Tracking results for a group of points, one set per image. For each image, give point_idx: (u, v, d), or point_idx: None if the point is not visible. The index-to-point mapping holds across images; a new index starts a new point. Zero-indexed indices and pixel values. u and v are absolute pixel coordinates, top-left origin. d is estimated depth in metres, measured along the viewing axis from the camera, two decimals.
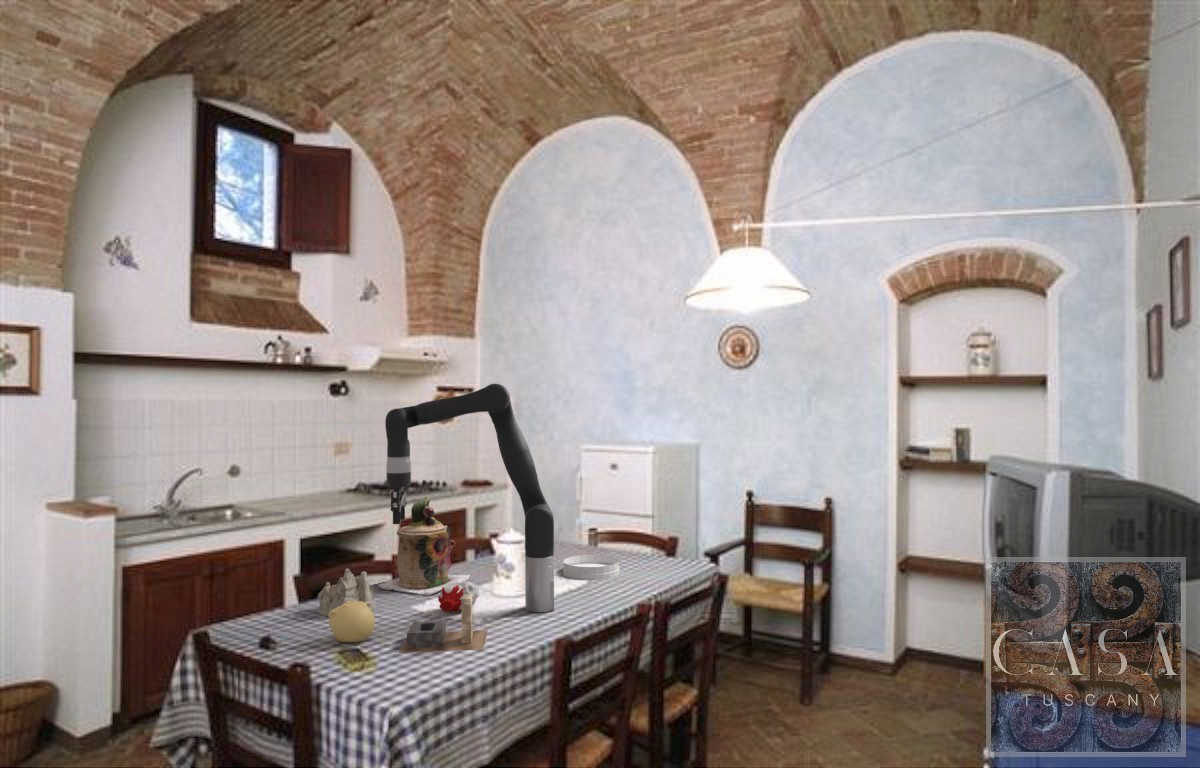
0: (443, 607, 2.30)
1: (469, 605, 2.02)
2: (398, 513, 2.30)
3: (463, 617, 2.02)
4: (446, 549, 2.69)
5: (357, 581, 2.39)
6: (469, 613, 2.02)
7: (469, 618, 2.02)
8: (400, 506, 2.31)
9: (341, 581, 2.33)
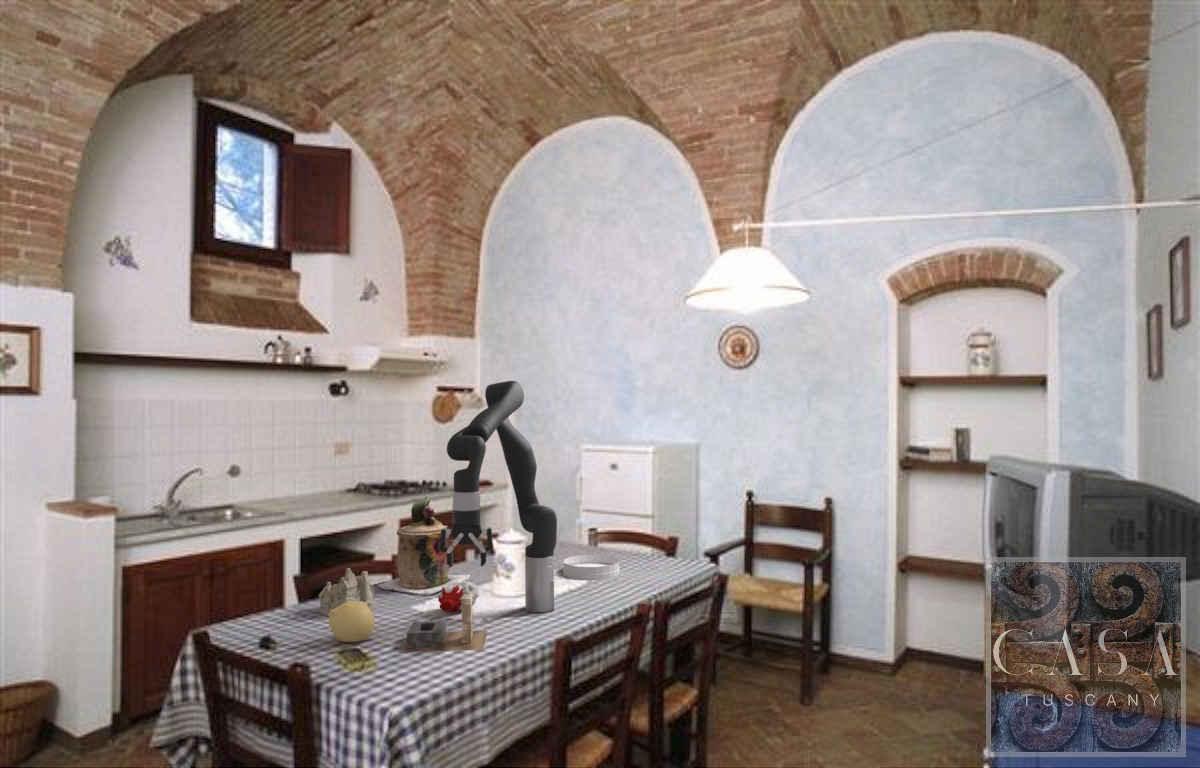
0: (443, 607, 2.30)
1: (469, 605, 2.02)
2: None
3: (463, 617, 2.02)
4: None
5: (358, 581, 2.40)
6: (469, 613, 2.02)
7: (469, 618, 2.02)
8: (482, 545, 2.06)
9: (342, 580, 2.33)
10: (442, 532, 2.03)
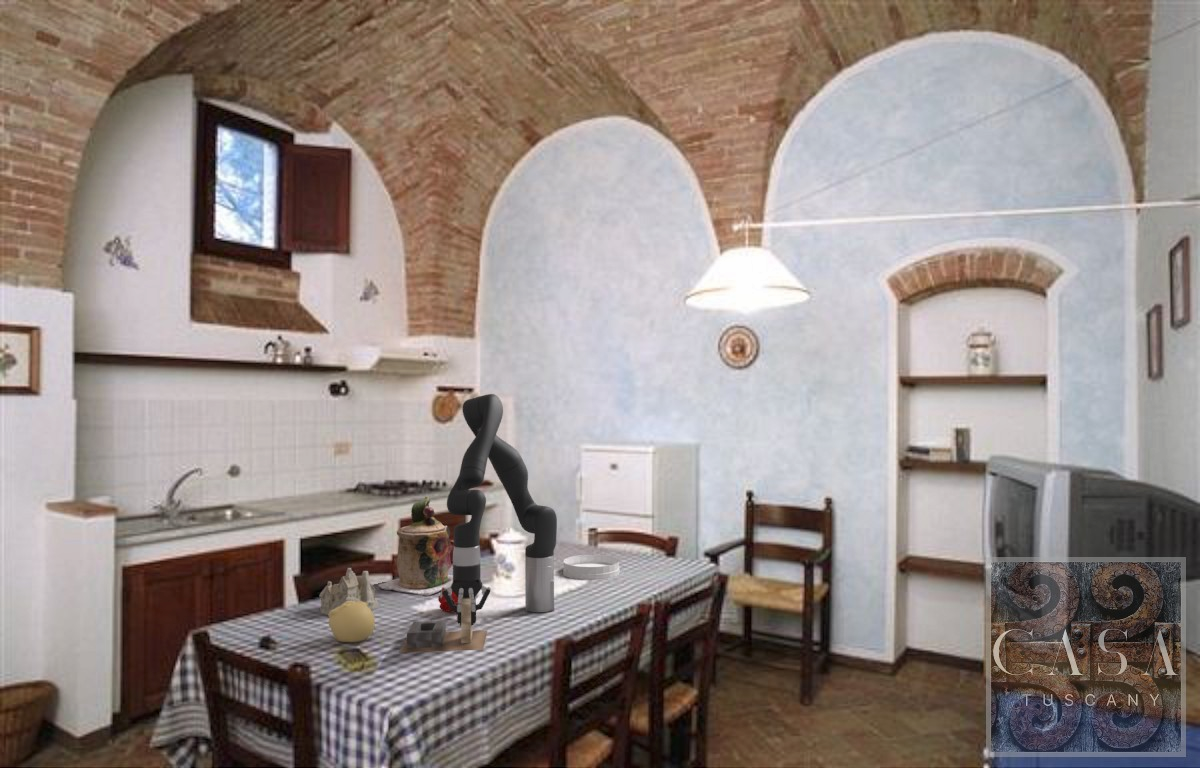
0: (443, 607, 2.30)
1: (469, 605, 2.02)
2: None
3: (463, 617, 2.02)
4: (446, 549, 2.69)
5: (359, 580, 2.40)
6: (469, 613, 2.02)
7: (469, 618, 2.02)
8: (474, 603, 2.05)
9: (343, 580, 2.34)
10: (444, 593, 2.02)
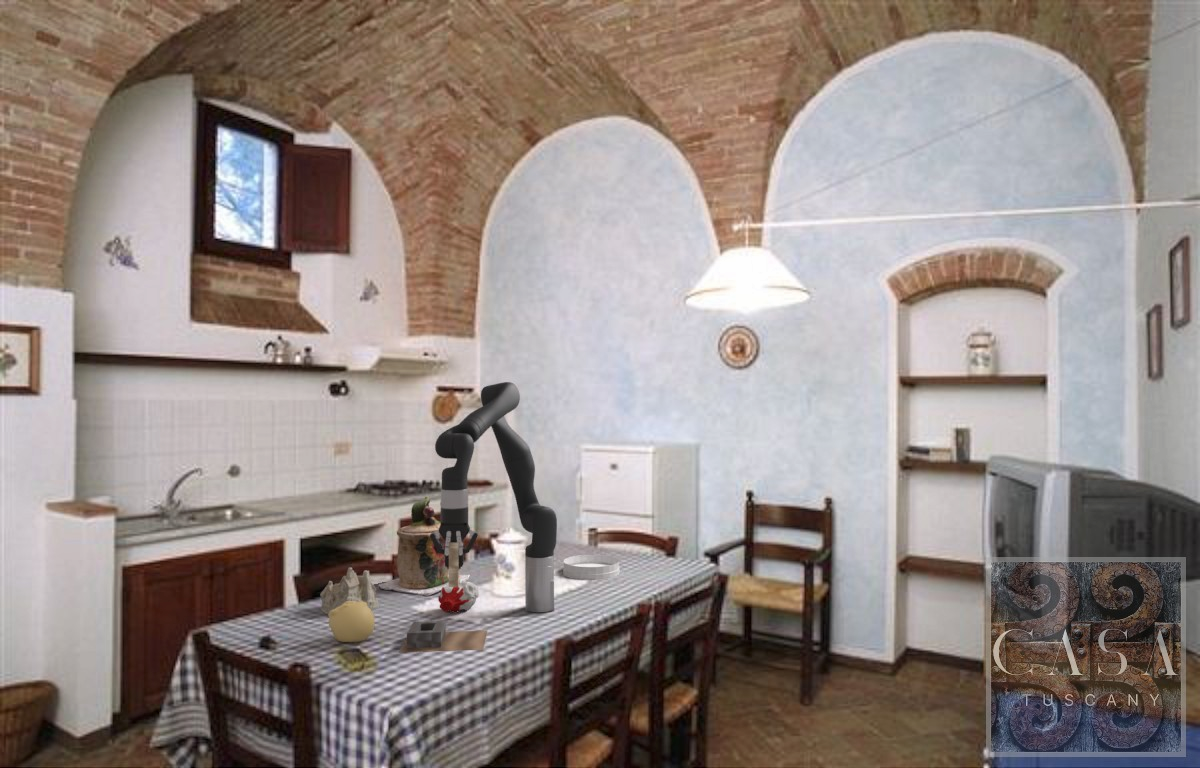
0: (443, 607, 2.30)
1: (456, 549, 2.01)
2: None
3: (450, 561, 2.01)
4: None
5: (359, 580, 2.41)
6: (456, 557, 2.01)
7: (456, 562, 2.01)
8: (461, 547, 2.05)
9: (344, 580, 2.34)
10: (431, 536, 2.02)
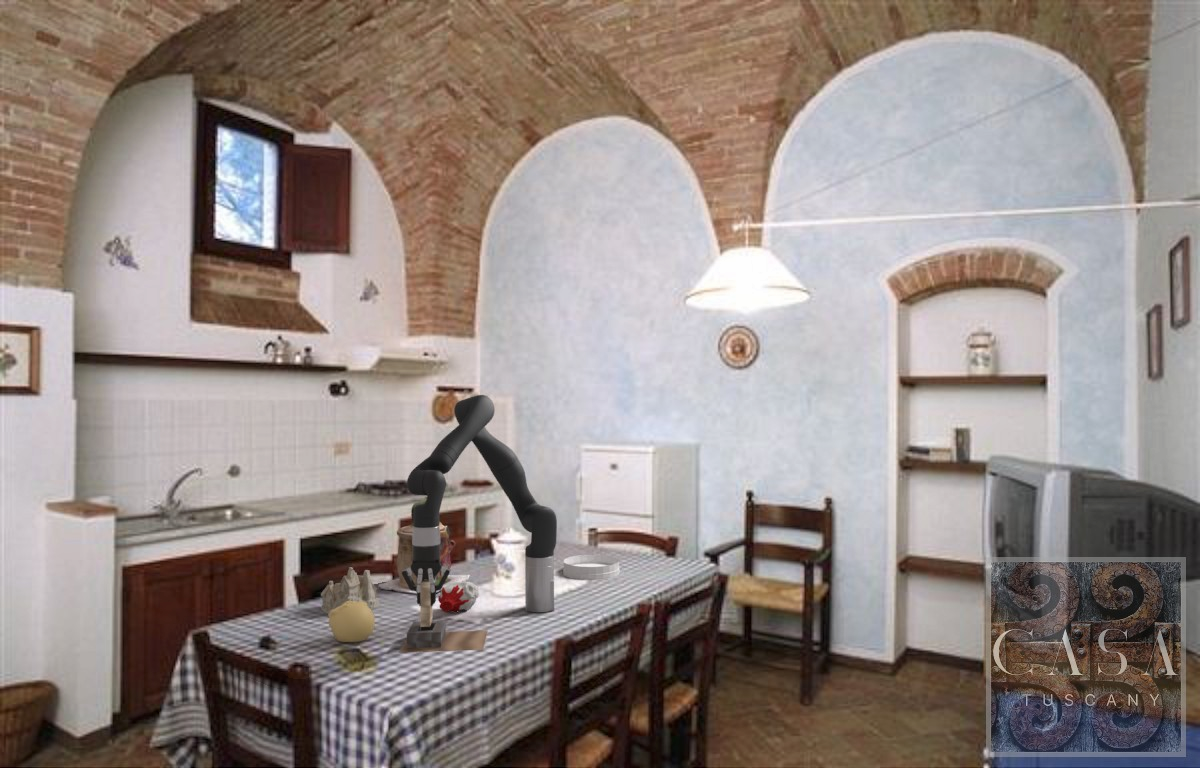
0: (443, 607, 2.30)
1: (428, 588, 2.01)
2: None
3: (422, 600, 2.01)
4: (446, 549, 2.69)
5: (360, 579, 2.41)
6: (428, 596, 2.01)
7: (428, 601, 2.01)
8: None
9: (345, 579, 2.35)
10: (403, 574, 2.02)
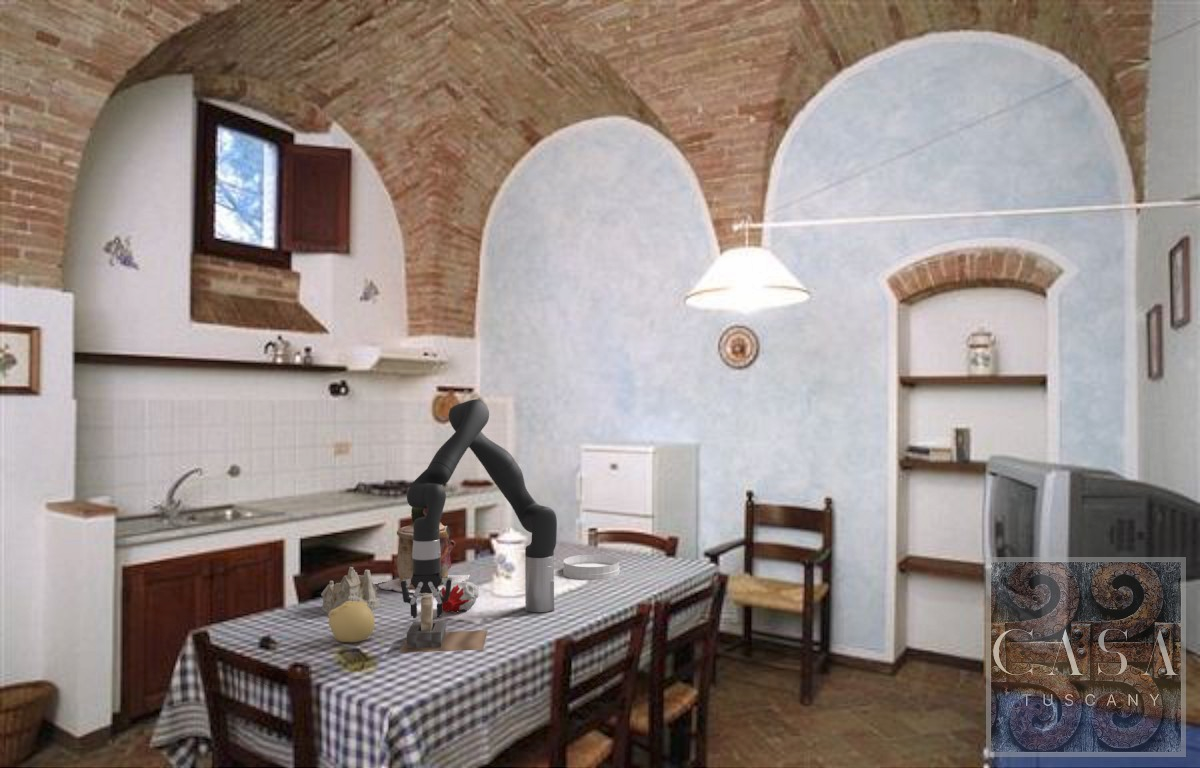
0: (443, 607, 2.30)
1: (428, 605, 2.02)
2: None
3: (422, 617, 2.01)
4: (446, 549, 2.69)
5: (360, 579, 2.41)
6: (428, 613, 2.01)
7: (428, 618, 2.01)
8: (439, 595, 2.05)
9: (345, 579, 2.35)
10: (402, 583, 2.02)
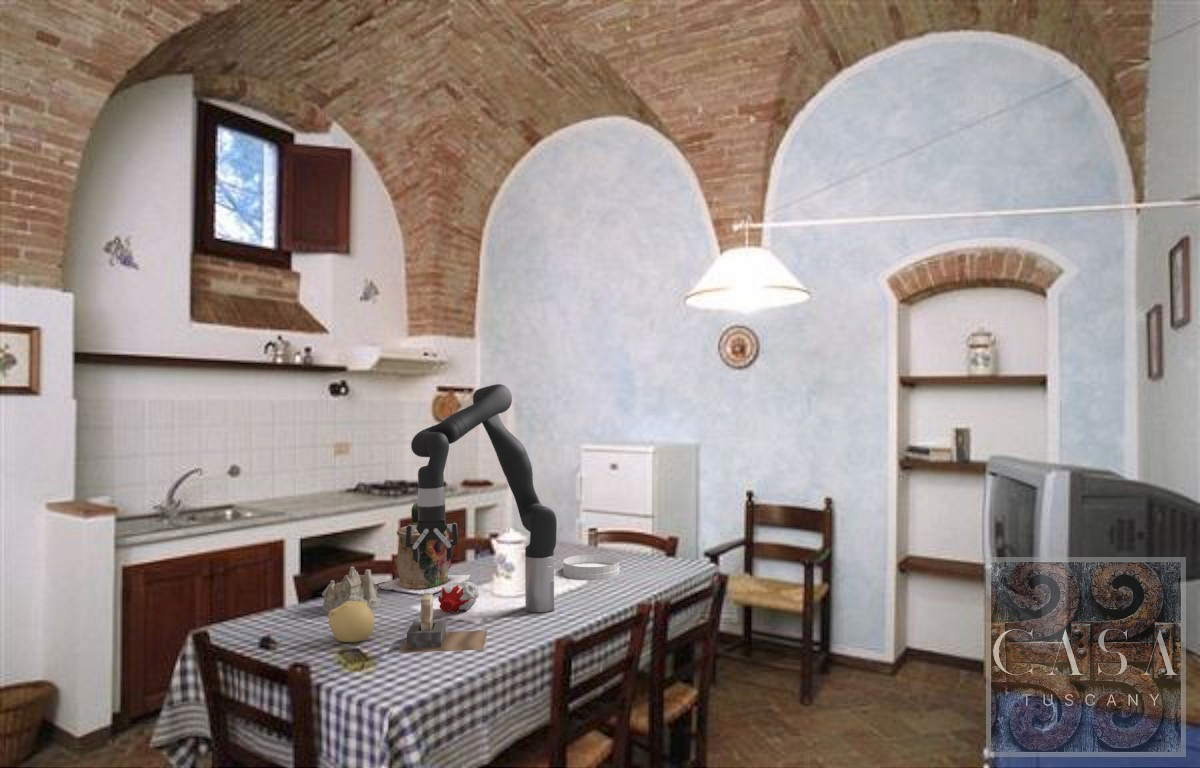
0: (443, 607, 2.30)
1: (428, 605, 2.02)
2: None
3: (422, 617, 2.01)
4: None
5: (361, 579, 2.42)
6: (428, 613, 2.01)
7: (428, 618, 2.01)
8: (447, 540, 2.08)
9: (346, 579, 2.35)
10: (407, 528, 2.05)
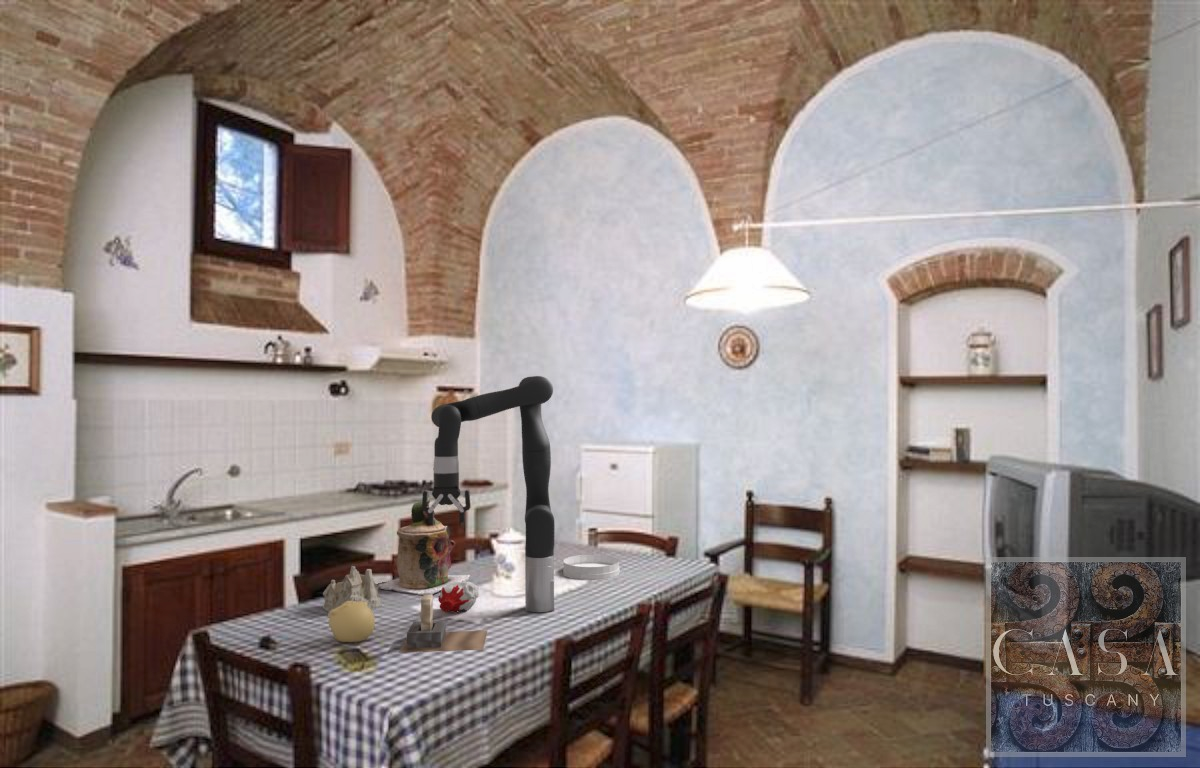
0: (443, 607, 2.30)
1: (428, 605, 2.02)
2: None
3: (422, 617, 2.01)
4: (446, 549, 2.68)
5: (362, 578, 2.42)
6: (428, 613, 2.01)
7: (428, 618, 2.01)
8: (460, 505, 2.25)
9: (347, 578, 2.36)
10: (424, 493, 2.22)
